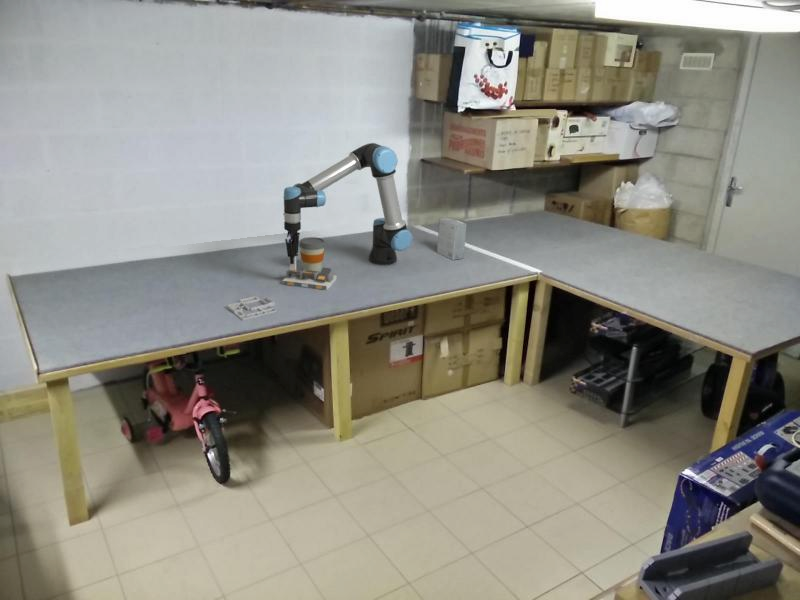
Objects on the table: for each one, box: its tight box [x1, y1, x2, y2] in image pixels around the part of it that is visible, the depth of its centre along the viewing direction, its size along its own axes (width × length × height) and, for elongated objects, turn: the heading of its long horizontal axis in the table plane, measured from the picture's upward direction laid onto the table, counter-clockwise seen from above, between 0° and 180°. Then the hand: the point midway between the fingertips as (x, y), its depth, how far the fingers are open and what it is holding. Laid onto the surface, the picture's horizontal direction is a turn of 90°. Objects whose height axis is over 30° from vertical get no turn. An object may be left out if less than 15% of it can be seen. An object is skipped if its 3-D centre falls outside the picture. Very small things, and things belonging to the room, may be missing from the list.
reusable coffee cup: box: [299, 236, 326, 272], centre depth 315 cm, size 13×13×15 cm
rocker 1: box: [288, 268, 304, 274], centre depth 300 cm, size 5×10×1 cm, turn 169°
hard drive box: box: [436, 217, 468, 261], centre depth 347 cm, size 16×8×20 cm, turn 34°
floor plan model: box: [226, 295, 277, 321], centre depth 270 cm, size 19×25×2 cm
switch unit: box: [282, 267, 337, 291], centre depth 300 cm, size 22×16×5 cm
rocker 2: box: [317, 267, 332, 282], centre depth 298 cm, size 5×10×1 cm, turn 169°
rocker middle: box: [302, 270, 317, 276], centre depth 299 cm, size 5×10×1 cm, turn 168°
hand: (292, 269), depth 296 cm, fingers closed
